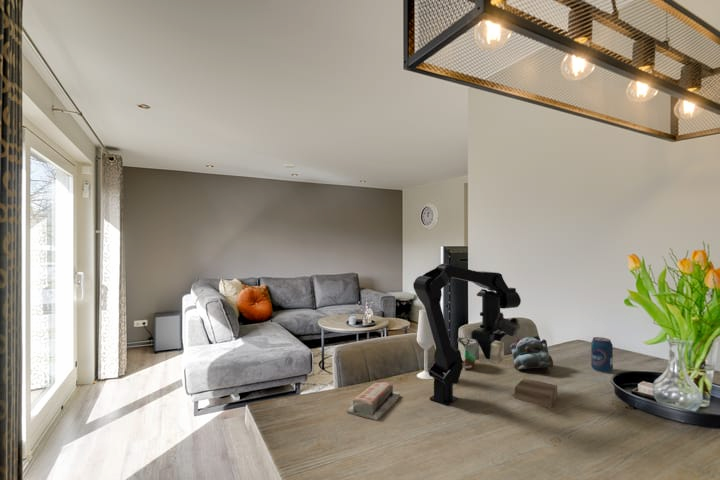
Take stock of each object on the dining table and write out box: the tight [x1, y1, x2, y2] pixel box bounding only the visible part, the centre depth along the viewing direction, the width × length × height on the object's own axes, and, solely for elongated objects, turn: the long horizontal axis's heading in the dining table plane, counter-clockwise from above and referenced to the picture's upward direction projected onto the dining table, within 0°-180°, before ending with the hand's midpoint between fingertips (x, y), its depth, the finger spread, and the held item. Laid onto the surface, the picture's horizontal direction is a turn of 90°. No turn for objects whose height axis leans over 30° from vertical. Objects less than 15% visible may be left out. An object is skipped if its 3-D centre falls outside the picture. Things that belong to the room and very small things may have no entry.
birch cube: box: [478, 340, 505, 365], centre depth 121 cm, size 6×6×6 cm
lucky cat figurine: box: [510, 335, 554, 371], centre depth 143 cm, size 15×12×14 cm
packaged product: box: [346, 381, 401, 421], centre depth 110 cm, size 18×5×10 cm
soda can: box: [590, 336, 614, 374], centre depth 140 cm, size 7×7×12 cm
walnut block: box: [514, 377, 558, 409], centre depth 115 cm, size 10×10×4 cm
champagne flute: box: [416, 308, 435, 380], centre depth 134 cm, size 7×7×24 cm
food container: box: [457, 336, 479, 371], centre depth 144 cm, size 12×6×10 cm, turn 179°
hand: (491, 356), depth 121 cm, fingers closed on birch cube, 6 cm apart
